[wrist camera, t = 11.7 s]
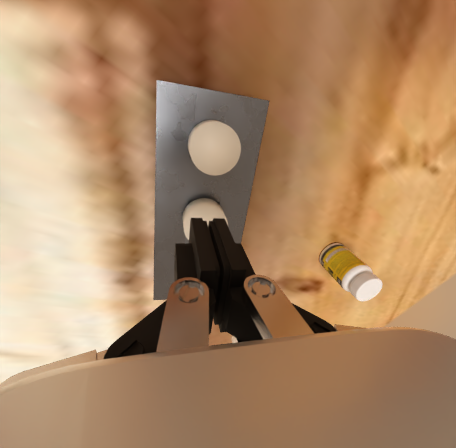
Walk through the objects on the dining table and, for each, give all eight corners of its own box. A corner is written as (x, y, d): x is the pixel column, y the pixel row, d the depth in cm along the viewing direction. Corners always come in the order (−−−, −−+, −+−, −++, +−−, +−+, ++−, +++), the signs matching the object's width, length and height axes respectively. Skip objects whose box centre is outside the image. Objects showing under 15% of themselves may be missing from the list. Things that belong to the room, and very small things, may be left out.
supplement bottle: (312, 258, 38) (346, 296, 31) (334, 237, 37) (374, 271, 30) (329, 270, 40) (364, 307, 33) (350, 250, 39) (391, 284, 32)
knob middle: (182, 186, 27) (185, 206, 22) (220, 189, 28) (231, 208, 23) (179, 221, 28) (182, 246, 24) (215, 222, 30) (224, 246, 25)
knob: (187, 114, 23) (192, 118, 19) (229, 120, 24) (245, 126, 20) (184, 158, 25) (187, 173, 20) (223, 163, 26) (236, 177, 22)
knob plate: (158, 82, 23) (156, 79, 19) (255, 100, 25) (269, 100, 22) (155, 279, 33) (153, 300, 30) (224, 277, 36) (230, 296, 32)
